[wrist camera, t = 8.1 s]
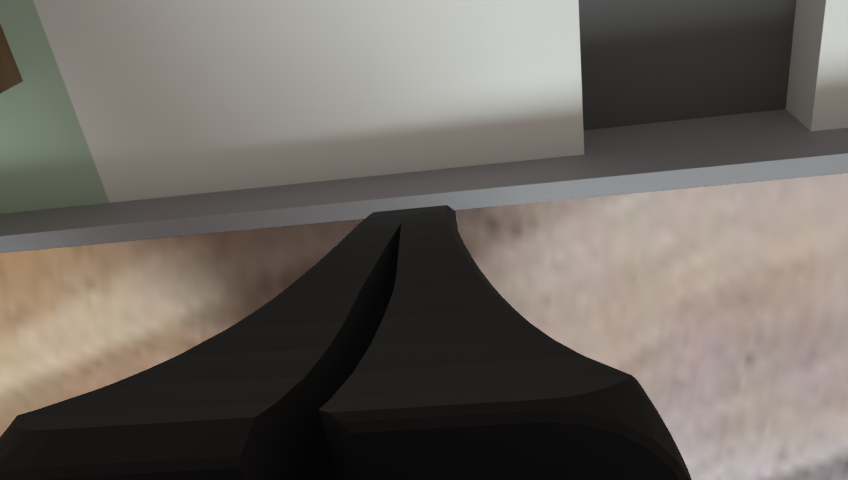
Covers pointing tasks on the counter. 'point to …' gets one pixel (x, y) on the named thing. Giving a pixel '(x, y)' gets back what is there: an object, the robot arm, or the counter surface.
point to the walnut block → (7, 66)
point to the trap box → (399, 107)
